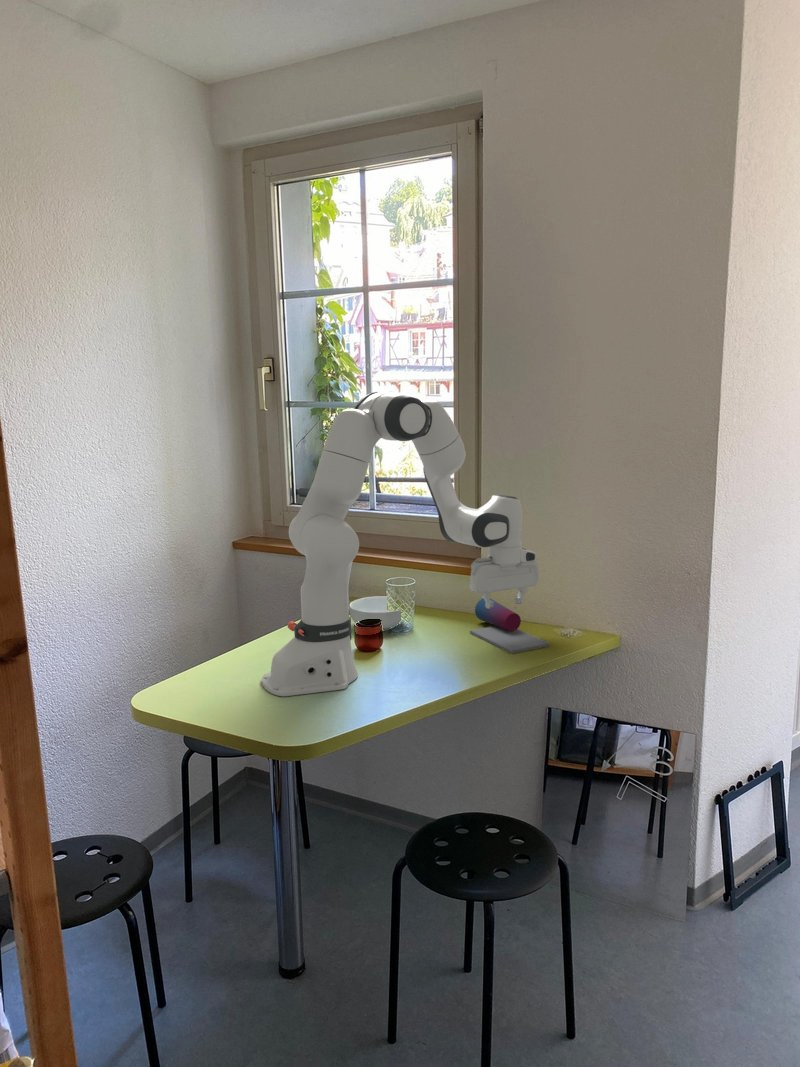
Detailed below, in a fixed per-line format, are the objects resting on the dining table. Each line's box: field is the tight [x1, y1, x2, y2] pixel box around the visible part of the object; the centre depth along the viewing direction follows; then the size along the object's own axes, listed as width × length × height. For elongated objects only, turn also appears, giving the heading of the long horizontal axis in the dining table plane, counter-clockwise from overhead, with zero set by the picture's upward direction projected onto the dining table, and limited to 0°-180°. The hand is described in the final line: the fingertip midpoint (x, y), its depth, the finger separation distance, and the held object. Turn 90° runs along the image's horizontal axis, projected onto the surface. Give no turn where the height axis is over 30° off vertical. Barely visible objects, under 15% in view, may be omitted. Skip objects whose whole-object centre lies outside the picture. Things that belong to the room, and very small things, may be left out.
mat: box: [469, 625, 551, 654], centre depth 215 cm, size 12×20×1 cm, turn 27°
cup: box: [474, 597, 522, 631], centre depth 224 cm, size 7×7×15 cm
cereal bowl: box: [349, 595, 401, 632], centre depth 228 cm, size 17×17×7 cm
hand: (504, 605), depth 214 cm, fingers open, 8 cm apart
